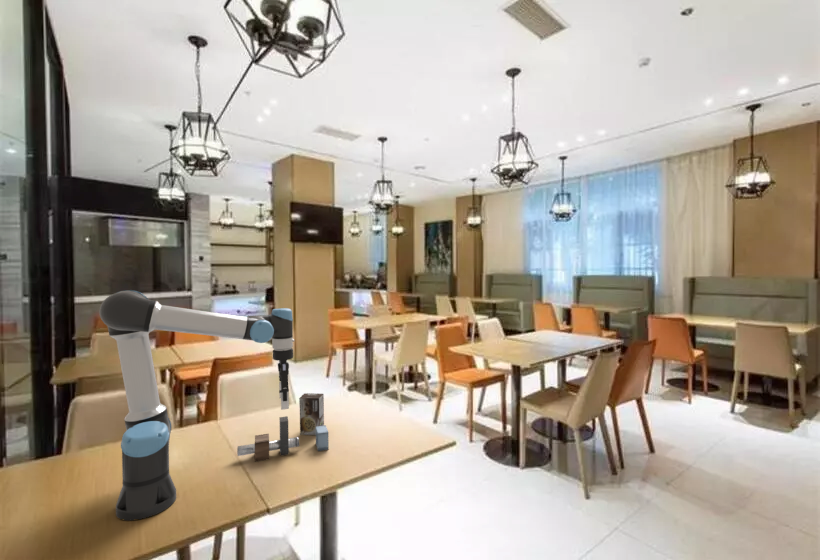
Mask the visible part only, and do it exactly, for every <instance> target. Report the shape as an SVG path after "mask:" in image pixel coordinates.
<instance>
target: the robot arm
mask: <svg viewBox="0 0 820 560" xmlns="http://www.w3.org/2000/svg"><path fill="white" fill-rule="evenodd" d="M99 318H100V319H101V321H102V322H103V324H104V325H105V326H106V327H107V329H108V330H107V331H108V335H109V337H110V338H112V339H114V340H115V341H116V345H117V346H116V347H117V352H118V357H119V362H120V368H121V373H122V374H121V375H122V378H123V385H124V391H125V397H126V402H127V408H128V413H127V414H126V415H125V417H124V424H125V430H126V431H125V432H124V433H123V435H122V438H121V442H120V448H121V463H122V465H121V469H122V470H121V471H122V487H121V488H120V489H121V490H120V493H119V496H118V499H117V501H116V504H115V516H116V518H118V519H119V518H120V519H119V520H121V519H124V520H123V521H135V520H134V519H139V520H143V519H146V517H147V518H149V516H150V517H153V516H156V515H157V514H159V513H162V512H164V511H165V510H166V509H168V508H170V507H171V506H172V505H173V504H174V503H175V501H176V500H177V488H176V486H175V483H174V481H173V479H172V477H171V474H170V456H169V455H170V438H171V433H172V422H171V420H170V418H169V415H168V414H169V413H168V408H167V406H166V405H165V404H163V403H161V400H160V396H159V395H160V393H159V388H158V383H157V375H156V371H155V366H154V365H155V364H154V359H153V354H152V347H151V342H150V335H149V334H150V333H151V332H153V331H154V330H156V331H157V330H158V331H167V332H176V333H184V334H192V335H193V334H194V335H202V336H204V335H205V336H211V337H220V338H228V339H236V340H237V339H239V340H246V341H253V342H255V343H259V344H264V343H265V344H266V343H268V342H269V341H270V340H271V339H272V340H271V342H272V343H271V344H272V345H271V346H272V349H273V350H272V359H273V361H278V363H277V370H278V371H277V372H278V380H279V385H278V386H279V388H278V389H279V391H278V393H279V399H280V410H282V411H284V410H289V409H290V400H289V398H290V397H289V396H290V395H289V394H290V393H289V391H290V388H289V374H290V373H289V372H290V371H289V368H290V364H289V362H288V361H289V360H292V359H293V358H294V348H293V347H294V343H293V342H295V339H294V337H293V334H294V333H293V331H294V330H293V326H294V325H293V323H294V322H293V321H294V319H293V310H292V309H291V308H288V307H285V308H284V307H282V308H273V309H272V310H271V314H264V315H263V314H261V315H260V314H259V315H245V316H239V315H233V314H227V313H221V312H213V311H205V310H199V309H193V308H192V309H191V308H185V307H177V306H171V305H164V304H161V303H160V302H159V301H158V300H153V299H149V298H148V297H147V296H146V295H144V294H143V292H140V291H137V290H132V289H130V290H125V289H124V290H121V291H117V292H115V293H113V294H110V295H109V296H107V297H105V299H104V300H103V301H102V302H101V304H100V306H99ZM152 515H153V516H152ZM142 518H143V519H142Z"/></svg>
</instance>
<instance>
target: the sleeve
mask: <svg viewBox="0 0 820 560" xmlns="http://www.w3.org/2000/svg"><path fill="white" fill-rule="evenodd" d="M269 441H270V434H269V433H264V434H258V435H254V444H255V453H254V462H262V461H268V460H270V451H269Z"/></svg>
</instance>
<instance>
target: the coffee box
mask: <svg viewBox="0 0 820 560" xmlns="http://www.w3.org/2000/svg"><path fill="white" fill-rule="evenodd" d="M324 397H325V395H324V393H308V392H307V393H306V392H305V393H303V394H302V395H301V396H300V397H299V398H298V399H299V400H298V403H299V434H300V435H307V436H308V435H310V436H316V427H318V426H324V425H325V414H324V412H325V405H324V401H325V398H324Z"/></svg>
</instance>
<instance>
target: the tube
mask: <svg viewBox="0 0 820 560" xmlns="http://www.w3.org/2000/svg"><path fill="white" fill-rule="evenodd" d="M298 447H300V438H299V436H295V437H290V438H289V418H288V416H287V415H286V416H280V417H279V439H276V440H271V441H270V440H269V452H270V451H277V450H279V454H280V455H279V456H287V455H290V454H289V453H290V450H289V449H290V448H298ZM236 449H237V457H240V456H246V455H252V454H254V455H255V443H249V444H244V445H237V448H236Z"/></svg>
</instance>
